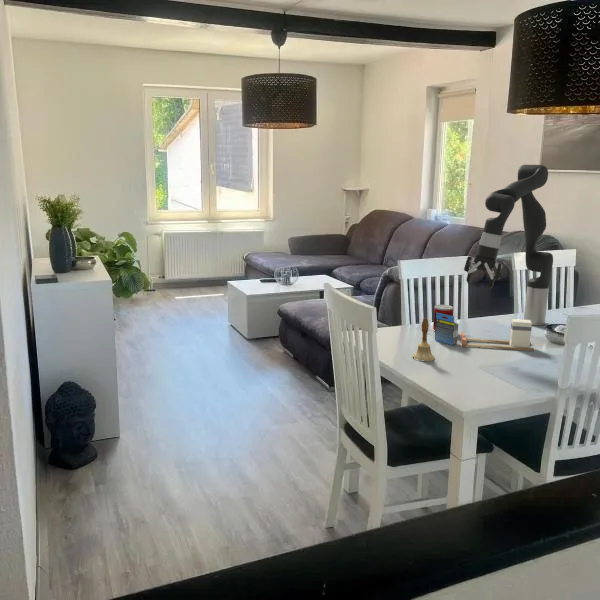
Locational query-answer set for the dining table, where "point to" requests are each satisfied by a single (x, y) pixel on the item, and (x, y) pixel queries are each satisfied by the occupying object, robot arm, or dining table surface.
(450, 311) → the canned food
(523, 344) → the block
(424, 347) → the hand bell
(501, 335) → the dining table surface
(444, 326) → the label tape cartridge
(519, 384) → the dining table surface
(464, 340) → the wooden rail channel
